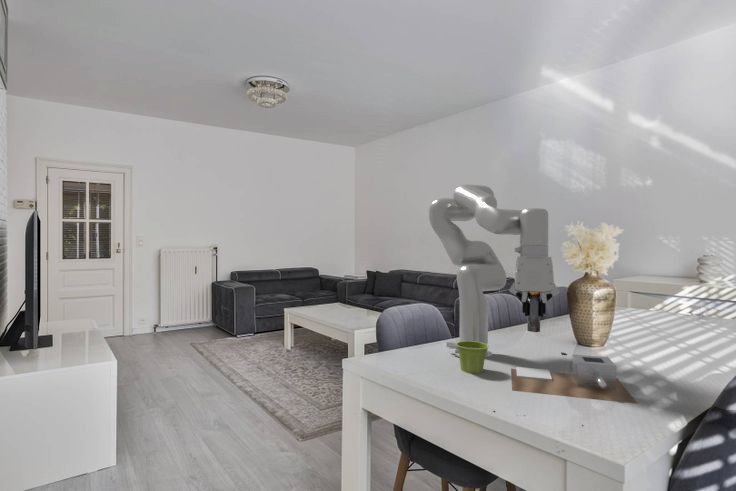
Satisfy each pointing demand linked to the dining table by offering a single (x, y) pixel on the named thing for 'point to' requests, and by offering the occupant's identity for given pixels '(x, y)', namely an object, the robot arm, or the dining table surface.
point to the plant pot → (472, 355)
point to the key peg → (533, 312)
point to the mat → (533, 373)
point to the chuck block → (594, 371)
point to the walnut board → (570, 388)
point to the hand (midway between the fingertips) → (533, 315)
